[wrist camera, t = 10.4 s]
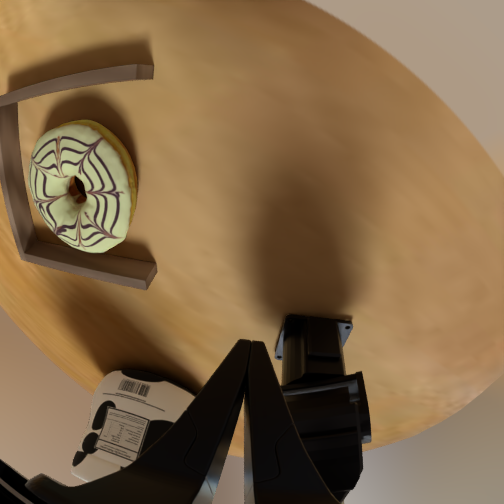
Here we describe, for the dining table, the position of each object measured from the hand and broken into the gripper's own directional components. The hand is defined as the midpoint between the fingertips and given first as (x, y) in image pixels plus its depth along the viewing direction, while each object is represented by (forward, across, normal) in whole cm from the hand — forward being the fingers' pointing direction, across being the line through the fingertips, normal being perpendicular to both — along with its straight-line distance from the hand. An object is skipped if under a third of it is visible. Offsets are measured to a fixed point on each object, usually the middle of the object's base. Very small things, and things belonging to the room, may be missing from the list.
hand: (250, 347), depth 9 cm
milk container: (+13, +13, +31) cm, 36 cm away
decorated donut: (+13, +15, -1) cm, 19 cm away
